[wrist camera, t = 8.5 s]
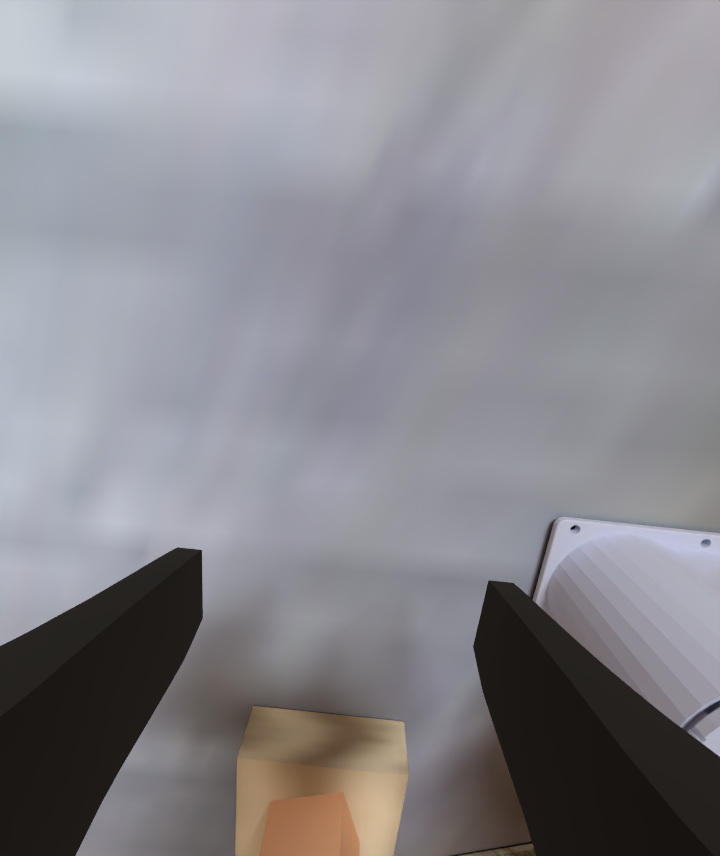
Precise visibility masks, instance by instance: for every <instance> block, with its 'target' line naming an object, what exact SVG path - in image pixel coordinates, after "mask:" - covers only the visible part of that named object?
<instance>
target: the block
mask: <svg viewBox="0 0 720 856" xmlns="http://www.w3.org/2000/svg"><path fill="white" fill-rule="evenodd" d="M259 856H360V841H359V838H358V835H357V832H356V829H355V826H354V823H353V820H352V817H351V814H350V811H349V808H348V805H347V802H346V799H345V796H344V793H343V792H338V793H330V794H322V795H314V796H306V797H298V798H291V799H283V800H275V801H271V802H270V807H269V811H268V816H267V821H266V826H265V831H264V835H263V840H262V845H261V850H260V854H259Z"/></svg>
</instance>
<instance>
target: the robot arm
mask: <svg viewBox="0 0 720 856" xmlns="http://www.w3.org/2000/svg"><path fill="white" fill-rule="evenodd" d="M574 525H576V527H575V529H573V530H570V529H571V527H572V526H574ZM702 541H703V542H702ZM202 618H203V608H202V550H196V549H186V548H176V549H174V550H172V551H170V552H168V553H166V554H165V555H163V556H161V557H160V558H158V559H156V560H154V561H153V562H151V563H149V564H148V565H146V566H144V567H143V568H141V569H139V570H138V571H136V572H134V573H133V574H131V575H129V576H128V577H126V578H124V579H122V580H121V581H119V582H117V583H116V584H114V585H112V586H110V587H109V588H107V589H105V590H104V591H102V592H100V593H99V594H97V595H95V596H93V597H92V598H90V599H88V600H86V601H85V602H83V603H81V604H79V605H77V606H75V607H74V608H72V609H70V610H68V611H66V612H64V613H62V614H61V615H59V616H57V617H55V618H53V619H51V620H50V621H48V622H46V623H44V624H42V625H40V626H39V627H37V628H35V629H33V630H31V631H29V632H27V633H25V634H23V635H22V636H20V637H18V638H16V639H14V640H12V641H10V642H8V643H6V644H4V645H2V646H0V856H75V855H76V853H77V851H78V849H79V847H80V845H81V843H82V841H83V839H84V837H85V835H86V833H87V831H88V829H89V827H90V825H91V823H92V821H93V819H94V817H95V815H96V813H97V811H98V809H99V807H100V805H101V803H102V801H103V799H104V797H105V795H106V794H107V792H108V790H109V788H110V786H111V785H112V783H113V781H114V779H115V777H116V775H117V774H118V772H119V770H120V768H121V767H122V765H123V763H124V762H125V760H126V758H127V757H128V755H129V753H130V752H131V750H132V748H133V746H134V745H135V743H136V741H137V740H138V738H139V736H140V735H141V733H142V731H143V729H144V728H145V726H146V724H147V723H148V721H149V719H150V718H151V716H152V714H153V712H154V711H155V709H156V707H157V706H158V704H159V702H160V701H161V699H162V697H163V695H164V694H165V692H166V690H167V689H168V687H169V685H170V683H171V682H172V680H173V678H174V676H175V675H176V673H177V671H178V670H179V668H180V666H181V664H182V662H183V661H184V659H185V656H186V654H187V652H188V650H189V648H190V646H191V643H192V641H193V639H194V637H195V634H196V632H197V630H198V627H199V625H200V623H201V621H202ZM473 647H474V652H475V657H476V662H477V667H478V672H479V676H480V680H481V685H482V689H483V693H484V696H485V699H486V703H487V706H488V709H489V712H490V715H491V718H492V721H493V724H494V727H495V730H496V733H497V736H498V739H499V742H500V745H501V748H502V751H503V754H504V757H505V760H506V763H507V766H508V769H509V772H510V775H511V778H512V781H513V784H514V787H515V790H516V793H517V796H518V799H519V802H520V805H521V808H522V811H523V813H524V817H525V820H526V823H527V826H528V830H529V833H530V836H531V840H532V843H533V846H534V850H535V854H536V856H720V533H711V532H702V531H693V530H683V529H674V528H664V527H655V526H646V525H636V524H627V523H617V522H608V521H599V520H589V519H580V518H571V517H560V518H558V519H557V520H556V521H555V522H554V524H553V528H552V531H551V535H550V539H549V542H548V546H547V549H546V553H545V557H544V560H543V564H542V568H541V571H540V575H539V579H538V582H537V586H536V590H535V593H534V597H533V600H532V599H531V598H530V597H529V596H527V595H526V594H525V593H524V592H523V591H522V590H521V589H520V588H518V587H517V586H516V585H515V584H514V583H508V582H498V581H488V585H487V590H486V594H485V598H484V603H483V607H482V611H481V616H480V620H479V624H478V629H477V633H476V637H475V641H474V646H473Z"/></svg>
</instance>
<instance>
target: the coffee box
mask: <svg viewBox="0 0 720 856" xmlns="http://www.w3.org/2000/svg"><path fill="white" fill-rule="evenodd" d="M459 856H536V854H535V850H534V846H533V843H531V844H524V845H518V846H513V847H506V848H500V849H494V850H488V851H482V852H476V853H470V854H464V855H459Z"/></svg>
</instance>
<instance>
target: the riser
mask: <svg viewBox="0 0 720 856" xmlns="http://www.w3.org/2000/svg"><path fill="white" fill-rule="evenodd" d="M408 778H409V771H408V760H407V749H406V738H405V726H404V721H394V720H384V719H375V718H365V717H356V716H346V715H336V714H327V713H317V712H308V711H298V710H289V709H279V708H269V707H260V706H253V708H252V712H251V715H250V718H249V721H248V725H247V728H246V731H245V734H244V738H243V741H242V744H241V747H240V750H239V754H238V757H237V793H236V843H235V856H259V854H260V850H261V845H262V840H263V835H264V831H265V826H266V821H267V816H268V811H269V807H270V802H271V801H275V800H283V799H291V798H298V797H306V796H314V795H322V794H330V793H338V792H343V793H344V796H345V799H346V802H347V805H348V808H349V811H350V814H351V817H352V820H353V823H354V826H355V829H356V832H357V835H358V838H359V841H360V856H393V854H394V849H395V844H396V839H397V834H398V829H399V823H400V818H401V813H402V808H403V803H404V798H405V793H406V788H407V783H408Z"/></svg>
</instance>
